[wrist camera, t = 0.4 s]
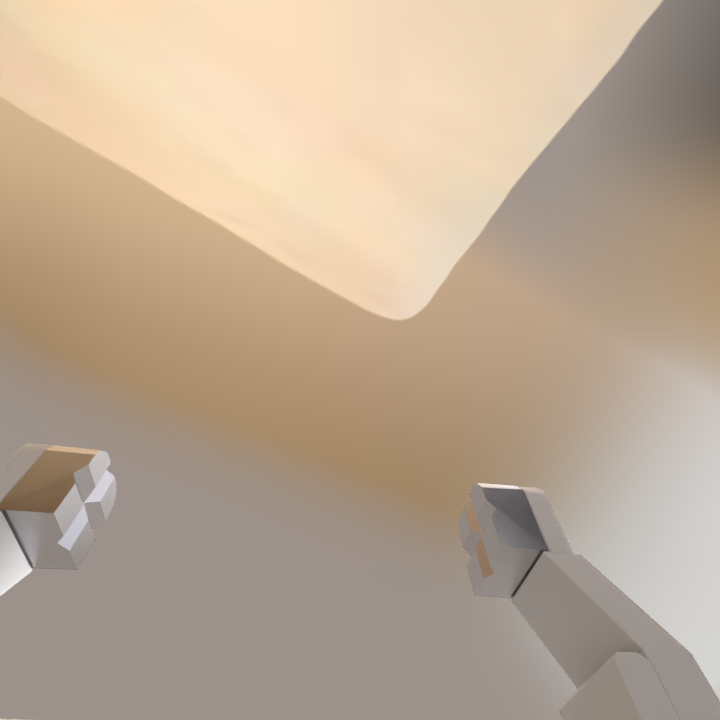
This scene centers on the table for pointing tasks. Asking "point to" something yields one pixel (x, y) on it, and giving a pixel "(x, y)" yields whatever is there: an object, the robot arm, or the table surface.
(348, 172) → the table surface
